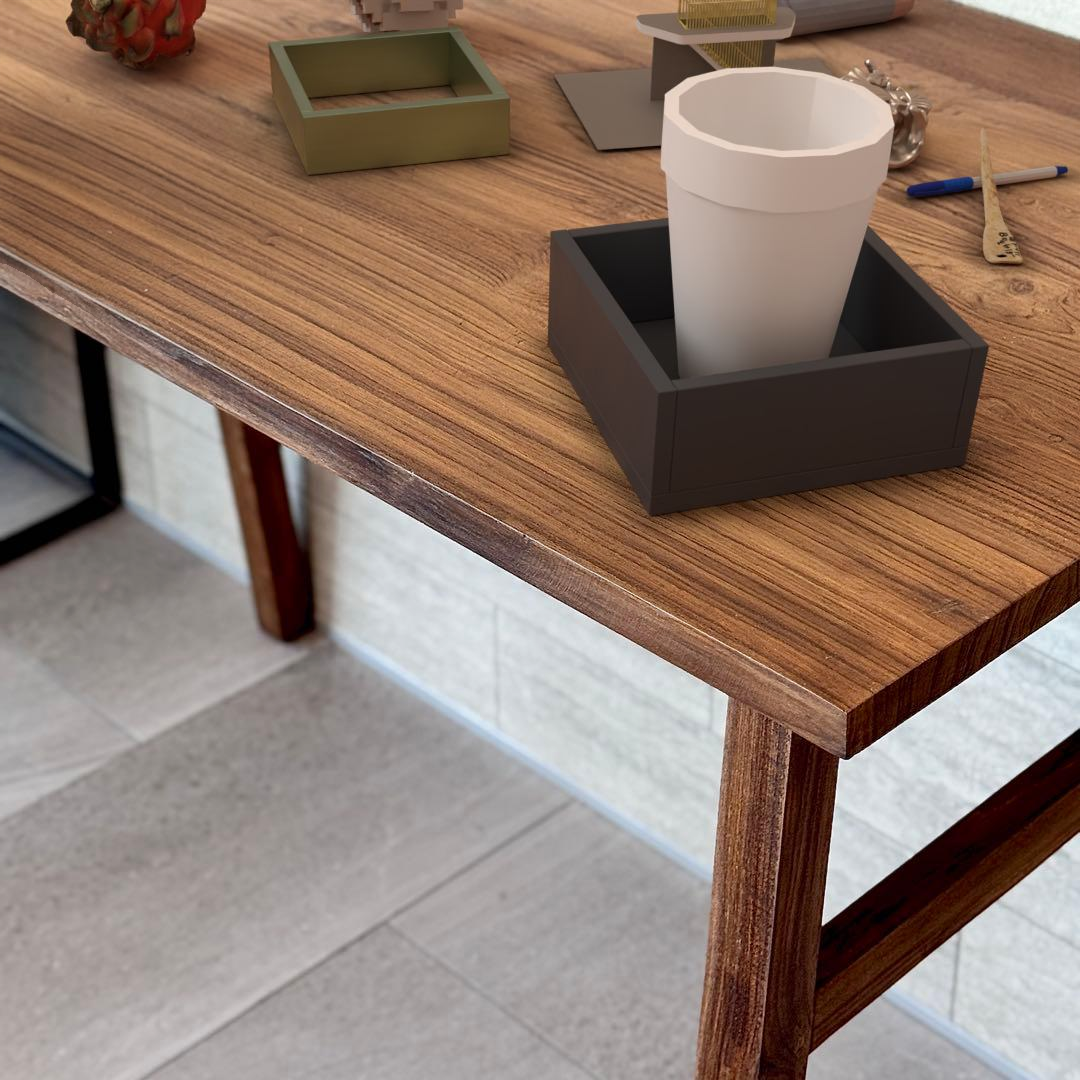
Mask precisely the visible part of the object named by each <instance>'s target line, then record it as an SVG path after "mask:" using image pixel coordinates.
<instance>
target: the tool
mask: <svg viewBox="0 0 1080 1080" xmlns="http://www.w3.org/2000/svg"><path fill="white" fill-rule="evenodd" d="M979 136H980V137H979V143H980V144H979V145H980V163H979V164H980V166H979V168H980V170H979V171H980V176H981V180H982V187H981V189H982V197H983V211H984V221H985V226H984V230H983V233H982V252H983V256H984V259H985V260H986V261H987V262H989V263H990V264H1001V263H1002V264H1019V265H1020V264H1022V263H1023V262H1024V258H1023V257H1022V255H1021V252H1020V249H1019V246H1018V243H1017V241H1016V239H1015V238H1014V236H1013V234H1012V233H1011V232H1010V230H1009V228H1008V227H1007V224H1006V223H1005V221H1004V218H1003V214H1002V211H1001V208H1000V202H999V193H998V190H997V185H995V182H994V178H993V174H994V172H993V166H992V160H991V153H990V144H989V141H988V138H987V132H986V129H985V128H984V127H982V128H981V129H980V133H979ZM999 256H1004V257H999Z"/></svg>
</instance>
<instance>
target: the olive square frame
mask: <svg viewBox="0 0 1080 1080" xmlns="http://www.w3.org/2000/svg"><path fill="white" fill-rule="evenodd" d="M267 44H268V56H269V69H270V70H269V71H270V82H271V94H272V95H271V97H272V98H273V101H274V102H275V106H276V108H277V110H278V112H279V114H280V116H281V118H282V121H283V123H284V126H285V128H286V130H287V132H288V135H289V136H290V139H291V141H292V143H293V144H292V145H293V146H294V148H295V151H296V152H297V155H298V157H299V159H300V162H301V164H302V166H303V169H304V172H305V173H306V175H307V176H312V175H313V176H315V175H322V174H323V175H324V174H333V173H342V172H343V173H344V172H351V171H360V170H361V171H362V170H371V169H380V168H391V167H401V166H409V165H419V164H427V163H436V162H448V161H457V160H465V159H467V160H468V159H475V158H485V157H486V158H487V157H495V156H503V155H505V156H506V155H510V152H511V151H510V149H511V148H510V147H511V145H510V144H511V140H510V139H511V97H510V95H509V94H508V93H507V91H506V90H505V88H504V87H503V86H502V84H501V83H500V82H499V80H498V79H497V78H496V76H495V75H494V74H493V72H492V71H491V69H490V68H489V67H488V65H487V64H486V62H485V61H484V59H483V58H482V57H481V56H480V54H479V53H478V51H476V49H475V48H474V46H473V44H472V43H471V42H470V41H469V39H468V37H466V35H465V34H464V33H463V31H462V30H461V28H460V27H459V26H458V25H457V26H456V25H455V26H448V27H443V28H431V29H419V30H407V31H395V32H383V33H374V32H373V33H372V32H371V33H363V34H362V33H360V34H352V35H350V34H349V35H338V36H337V35H336V36H325V37H314V38H302V39H291V40H281V41H279V40H278V41H268V43H267ZM443 86H450V87H451V89H452V90H453V92H454V94H455V95H456V96H455V97H447V98H436V99H427V100H417V101H406V102H405V101H404V102H395V103H384V104H373V105H364V106H354V107H353V106H352V107H343V108H342V107H341V108H332V109H321V110H315V109H314V107H313V105H312V103H311V101H310V99H313V98H324V97H335V96H344V95H345V96H347V95H356V94H367V93H377V92H388V91H389V92H391V91H398V90H399V91H400V90H408V89H409V90H410V89H420V88H431V87H432V88H433V87H443Z"/></svg>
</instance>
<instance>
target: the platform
mask: <svg viewBox="0 0 1080 1080" xmlns="http://www.w3.org/2000/svg"><path fill="white" fill-rule="evenodd" d="M795 16H796V14H795V13H794V12H793V11H792V10H791V9H790V8H787V7H777V0H678V7H677V12H666V13H665V12H663V13H648V14H638V15H636V16H635V28H636V29H637V31H638V32H639V33H641V34H644V35H646V36H649V37H652V38H653V42H652V55H651V68H649V67H648V68H639V69H638V68H637V69H621V70H620V69H619V70H604V71H588V72H587V71H586V72H585V71H584V72H571V73H570V72H569V73H555V74H554V73H553V76H554V78H555V80H556V81H557V83H558V85H559V86H560V88H561V90H562V92H563V93H564V95H565V96H566V98H567V100H568V102H569V103H570V105H571V107H572V109H573V110H574V112H575V113H576V115H577V117H578V119H579V120H580V122H581V123H582V126H583V127H584V129H585V130H586V132H587V134H588V136H589V137H590V139H591V141H592V142H593V144H594V146H595V148H596V149H597V150H598V151H599V150H600V151H601V150H614V149H628V148H629V149H630V148H642V147H643V148H645V147H655V146H662V131H663V117H664V102H665V94H666V93H667V92H669V91H670V90H672V89H673V88H674V87H676V86H677V85H678V84H680V83H681V82H683V81H684V80H685V79H687V78H690V77H694V76H698V75H702V74H706V73H710V72H714V71H718V70H722V69H726V68H752V67H780V68H788V69H795V70H803V71H811V72H818V73H824V74H827V75H830V76H833V77H836V75H834V73H832V71H831V70H830V69H829V68H828V67H827V66H826V64H824V62H822V61H821V60H820V59H819V58H818V57H814V58H813V57H812V58H795V59H783V60H782V59H781V60H780V59H779V60H775V57H776V46H777V41H776V39H782V38H784V39H786V38H790V37H792V36H791V33H792V30H793V27H794V24H795Z"/></svg>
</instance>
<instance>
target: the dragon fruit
mask: <svg viewBox="0 0 1080 1080" xmlns="http://www.w3.org/2000/svg"><path fill="white" fill-rule="evenodd" d="M70 8H71V12H70V14H69V15H68V16H67V17H66V19H65V21H64V22H65V24H66V26H67V27H66V28H67V30H68V31H69V33H70V34H71V35H72V36H73V37H77V38H78V37H79V38H82V39H84V40H85V45H87V46H88V47H89V48H90V50H92V51H94V52H98V53H110V55H111V56H112V58H113V59H114V60H115V61H116V62H117V63H118V64H119V65H123V66H125V67H130V68H132V69H136V70H137V71H139V70H140V71H142V70H146V69H148V68H149V67H150V66H152V65H153V64H154V63H155V61H156V59H157V57H158V55H165V56H167V57H169V58H177V57H180V56H182V55H184V57H185V58H186V57H189V56H190V55H191V54H192V53H193V52H194V51H195V49H196V48H195V47H196V40H197V39H196V35H195V29H194V26H195V24H196V22H197V21H198V20H199V19H200V18H202V16H203V14H204V13H205V11H206V9H207V0H71V1H70ZM186 53H187V54H186ZM185 54H186V55H185Z"/></svg>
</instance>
